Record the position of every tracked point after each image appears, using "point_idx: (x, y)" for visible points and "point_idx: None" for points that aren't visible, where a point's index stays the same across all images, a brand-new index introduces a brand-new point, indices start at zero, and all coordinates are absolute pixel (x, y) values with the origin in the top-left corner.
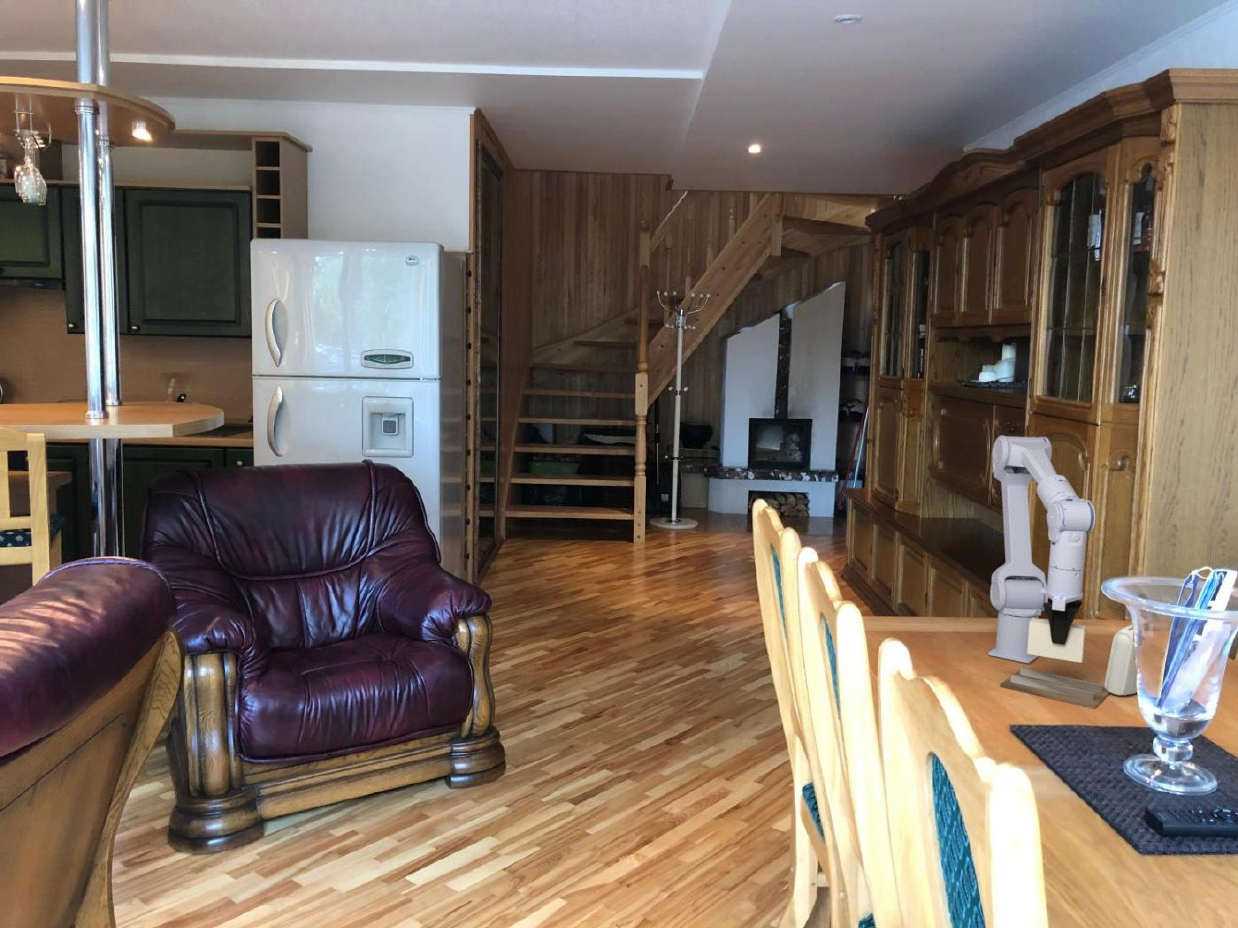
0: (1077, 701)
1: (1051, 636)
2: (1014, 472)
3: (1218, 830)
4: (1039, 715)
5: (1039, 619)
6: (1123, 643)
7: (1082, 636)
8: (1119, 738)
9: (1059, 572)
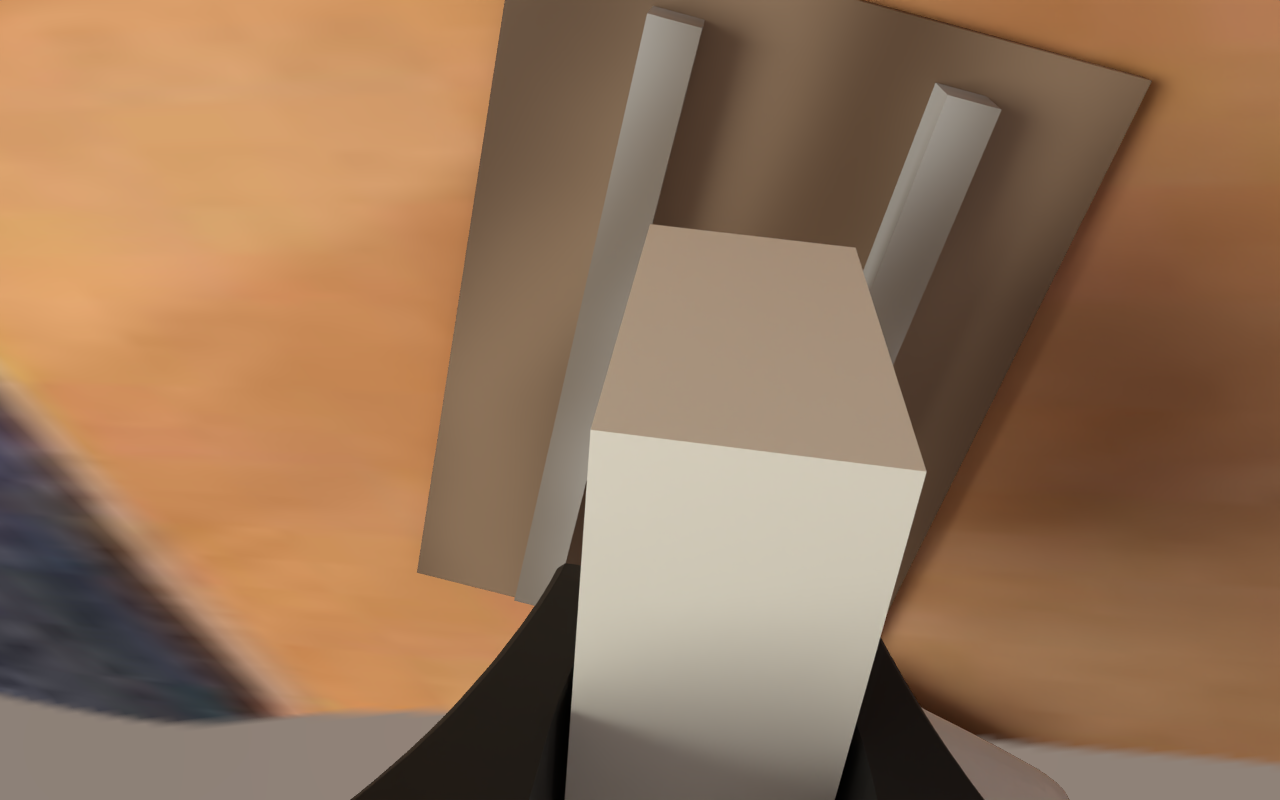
0: (451, 488)
1: (535, 606)
2: None
3: None
4: (36, 255)
5: (857, 580)
6: None
7: None
8: (26, 628)
9: None
